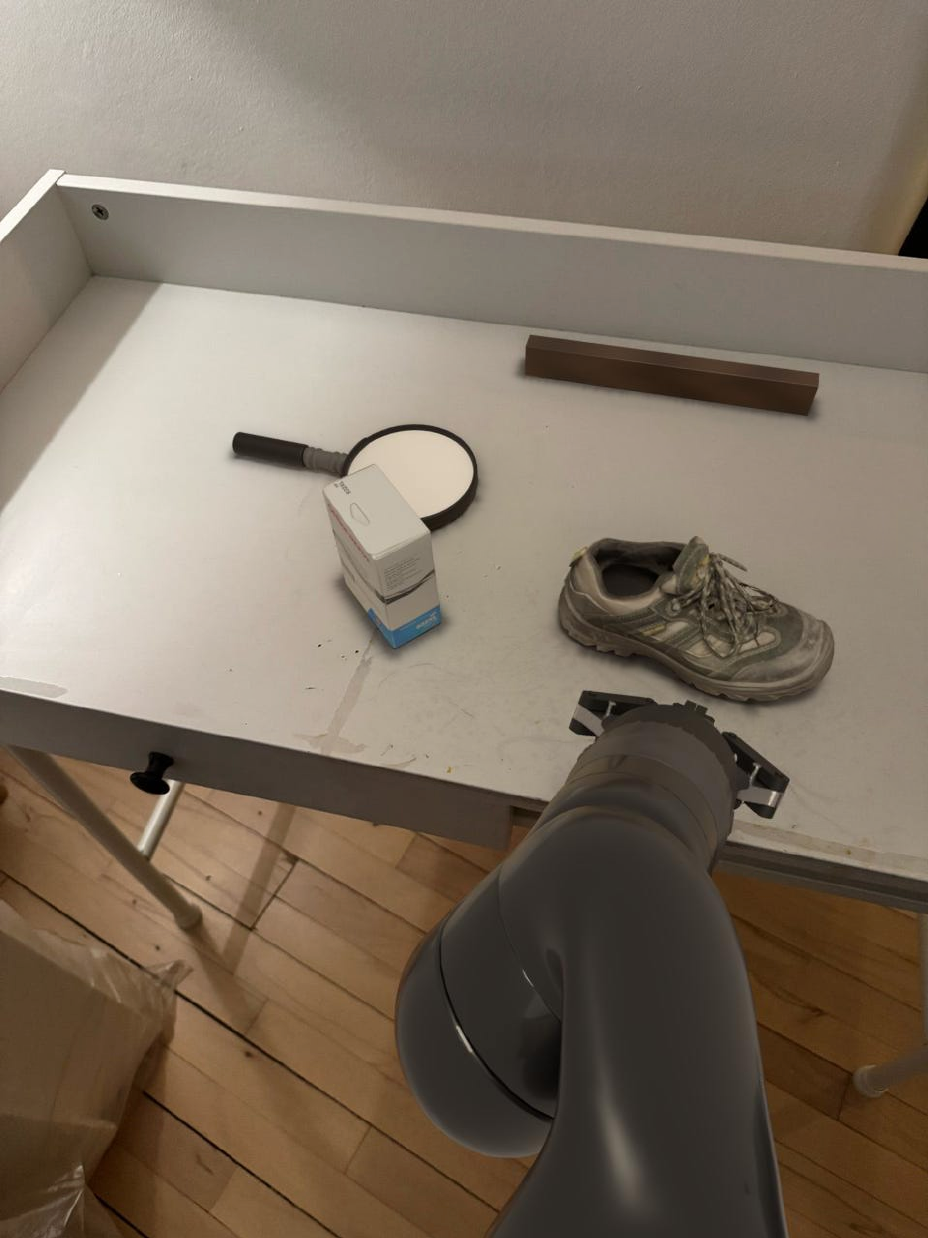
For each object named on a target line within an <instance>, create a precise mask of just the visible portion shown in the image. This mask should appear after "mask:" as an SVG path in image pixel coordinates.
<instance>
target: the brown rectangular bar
mask: <svg viewBox="0 0 928 1238" xmlns="http://www.w3.org/2000/svg"><path fill="white" fill-rule="evenodd" d="M524 350H525V351H524V352H525V353H524V355H525V356H524V376H529V377H530V376H531V377H538V378H543V379H544V378H545V379H551V380H558V381H565V382H572V383H580V384H584V385H585V384H587V385H593V386H601V387H607V388H614V389H621V390H626V391H627V390H629V391H635V392H640V393H641V392H642V393H649V394H655V395H662V396H669V397H677V398H682V399H683V398H684V399H689V400H696V401H705V402H712V403H718V404H724V405H732V406H738V407H746V408H752V409H760V410H767V411H774V412H781V413H788V414H794V415H802V416H808V415H809V413H810V410H811V408H812V405H813V402H814V400H815V398H816V395H817V392H818V390H819V387H820V386H819V385H820V373H819V372H812V371H805V370H797V369H790V368H784V367H777V366H776V367H774V366H768V365H760V364H752V363H747V362H746V363H745V362H739V361H731V360H724V359H716V358H708V357H703V356H694V355H687V354H686V355H685V354H679V353H671V352H663V351H657V350H649V349H643V348H642V349H641V348H635V347H634V348H633V347H627V346H621V345H620V346H618V345H612V344H611V345H610V344H604V343H597V342H591V341H582V340H575V339H567V338H559V337H552V336H544V335H536V334H529V336H528V339H527V341H526V344H525V349H524Z"/></svg>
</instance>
